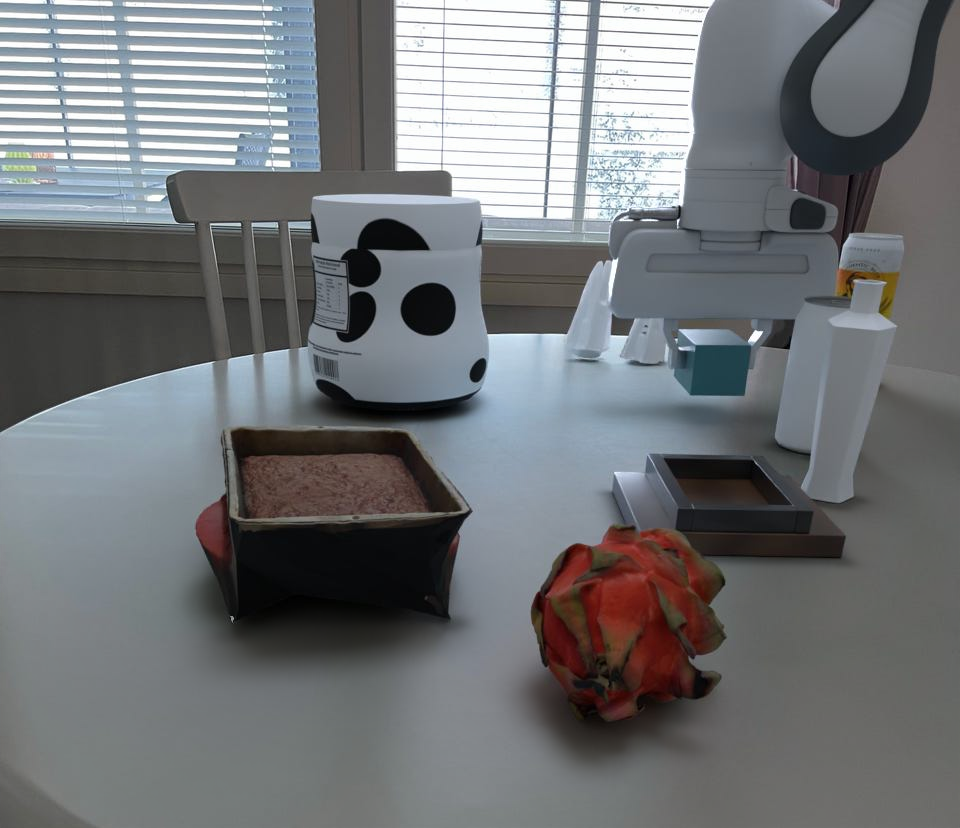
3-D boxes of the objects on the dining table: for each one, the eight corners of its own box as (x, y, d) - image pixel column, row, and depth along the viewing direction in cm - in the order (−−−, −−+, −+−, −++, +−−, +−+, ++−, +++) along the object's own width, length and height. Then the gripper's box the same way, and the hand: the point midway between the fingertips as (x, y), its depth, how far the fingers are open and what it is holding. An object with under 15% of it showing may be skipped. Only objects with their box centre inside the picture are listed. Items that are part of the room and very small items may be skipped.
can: (769, 450, 80) (795, 302, 74) (777, 431, 85) (802, 292, 79) (849, 460, 78) (882, 309, 72) (852, 440, 83) (883, 298, 77)
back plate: (785, 494, 70) (792, 455, 68) (841, 557, 59) (851, 512, 58) (612, 491, 70) (615, 451, 68) (637, 554, 59) (642, 509, 58)
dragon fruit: (658, 659, 50) (602, 816, 41) (537, 558, 49) (453, 696, 40) (775, 564, 45) (740, 721, 36) (641, 449, 44) (570, 580, 35)
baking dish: (444, 555, 63) (429, 404, 60) (493, 643, 46) (476, 440, 43) (226, 582, 61) (198, 427, 58) (196, 683, 45) (154, 474, 41)
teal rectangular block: (724, 376, 92) (730, 329, 90) (744, 396, 85) (751, 345, 83) (673, 376, 92) (678, 329, 90) (690, 395, 85) (695, 344, 83)
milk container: (500, 385, 98) (506, 197, 90) (470, 429, 83) (473, 207, 75) (342, 376, 101) (333, 191, 92) (285, 416, 86) (268, 200, 77)
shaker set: (562, 362, 110) (568, 261, 105) (564, 354, 114) (570, 257, 108) (665, 367, 109) (677, 265, 103) (664, 360, 112) (675, 261, 107)
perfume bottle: (864, 507, 68) (914, 287, 61) (801, 502, 68) (844, 284, 61) (853, 486, 72) (899, 279, 65) (794, 482, 72) (833, 276, 65)
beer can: (810, 381, 104) (838, 234, 97) (827, 372, 108) (854, 231, 101) (866, 389, 101) (899, 239, 94) (881, 380, 105) (913, 235, 98)
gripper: (615, 207, 79) (604, 374, 85) (857, 209, 79) (827, 376, 85) (606, 203, 84) (596, 360, 91) (832, 205, 84) (806, 361, 91)
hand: (710, 368), depth 88 cm, fingers closed on teal rectangular block, 5 cm apart
